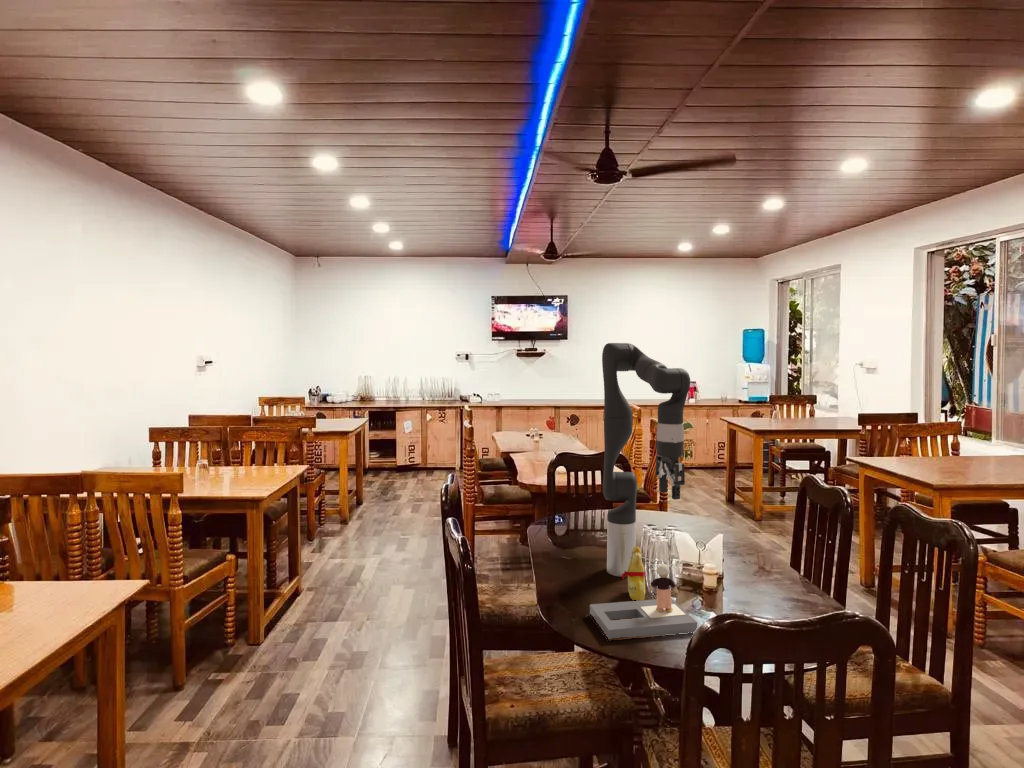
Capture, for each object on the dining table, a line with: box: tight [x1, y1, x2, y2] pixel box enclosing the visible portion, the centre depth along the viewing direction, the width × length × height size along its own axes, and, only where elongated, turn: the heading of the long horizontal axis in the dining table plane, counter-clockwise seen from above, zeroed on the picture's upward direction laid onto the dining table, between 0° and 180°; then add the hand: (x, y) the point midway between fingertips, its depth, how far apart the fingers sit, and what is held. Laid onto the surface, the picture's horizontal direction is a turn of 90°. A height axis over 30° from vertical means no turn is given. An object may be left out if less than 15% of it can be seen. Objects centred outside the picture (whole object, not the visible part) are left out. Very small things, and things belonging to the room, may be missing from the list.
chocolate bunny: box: [621, 546, 646, 601], centre depth 192 cm, size 7×11×15 cm, turn 175°
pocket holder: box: [589, 597, 698, 639], centre depth 172 cm, size 16×24×3 cm, turn 100°
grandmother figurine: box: [648, 563, 679, 613], centre depth 173 cm, size 8×4×13 cm, turn 95°
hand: (669, 495), depth 182 cm, fingers open, 8 cm apart
